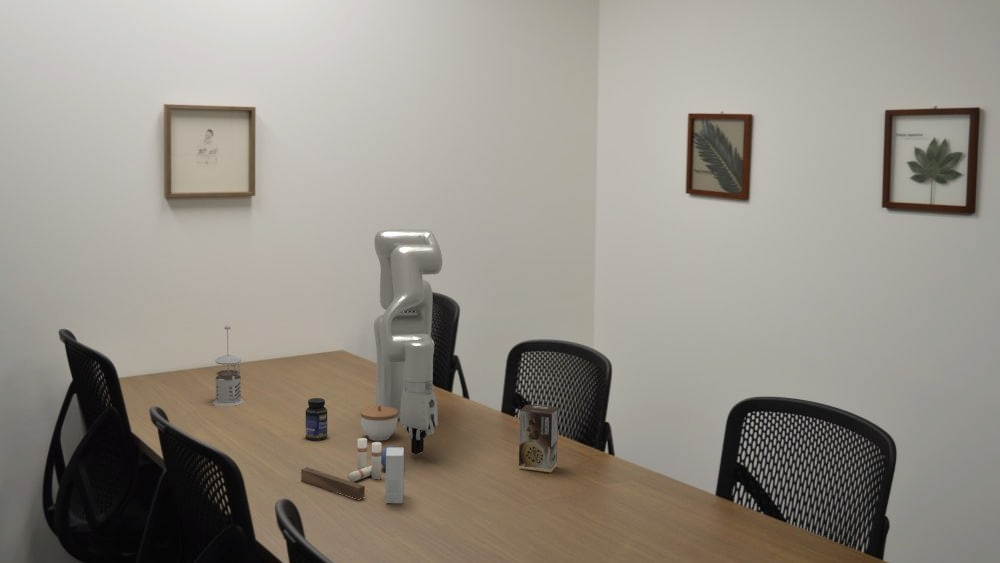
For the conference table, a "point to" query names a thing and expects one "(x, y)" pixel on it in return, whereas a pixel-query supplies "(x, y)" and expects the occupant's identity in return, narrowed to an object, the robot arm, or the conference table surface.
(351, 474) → the front pin
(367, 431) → the lidded jar
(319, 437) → the pill bottle
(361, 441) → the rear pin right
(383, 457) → the ball
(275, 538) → the conference table surface
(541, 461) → the coffee box
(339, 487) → the bar
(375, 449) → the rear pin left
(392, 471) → the skincare box
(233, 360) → the french press
